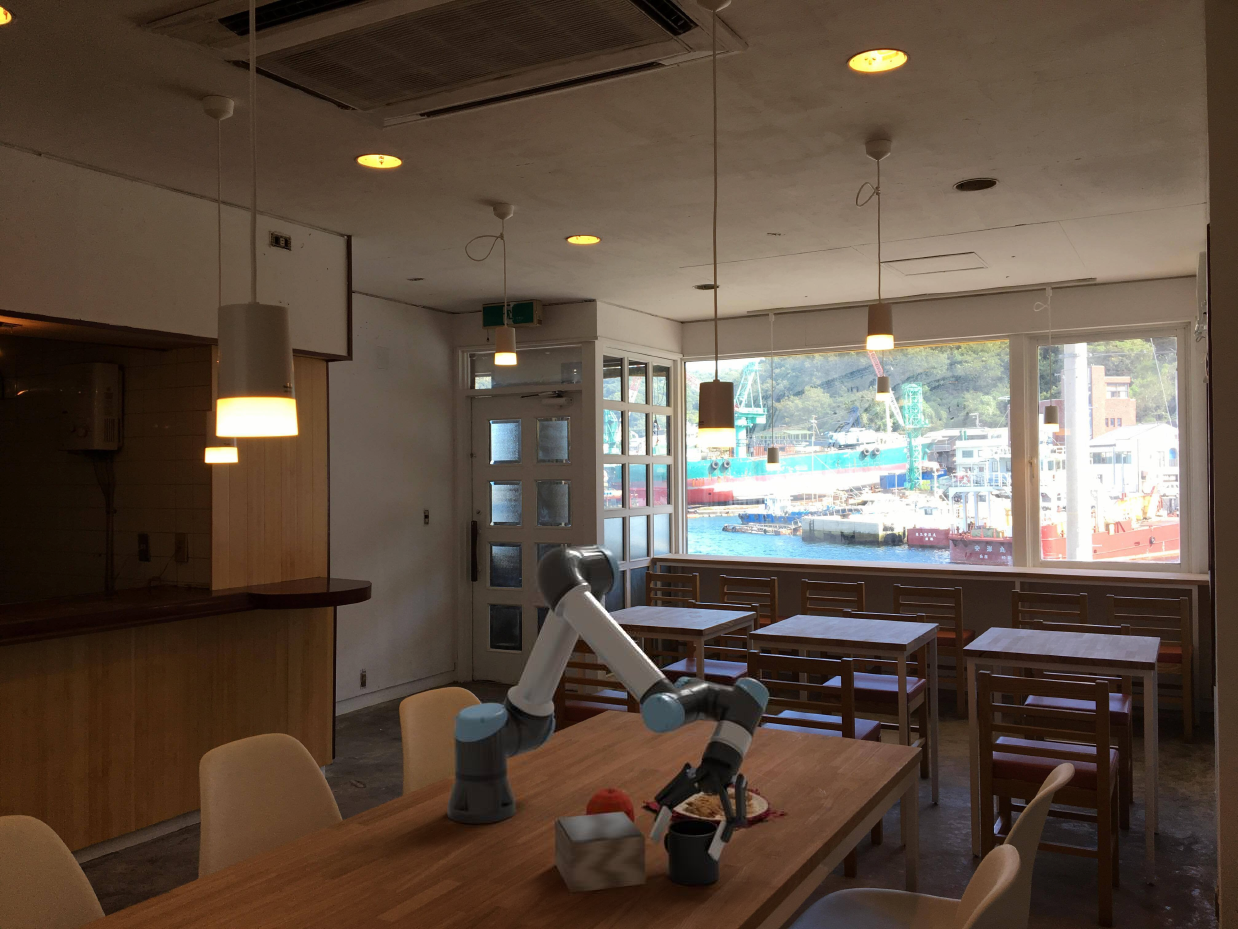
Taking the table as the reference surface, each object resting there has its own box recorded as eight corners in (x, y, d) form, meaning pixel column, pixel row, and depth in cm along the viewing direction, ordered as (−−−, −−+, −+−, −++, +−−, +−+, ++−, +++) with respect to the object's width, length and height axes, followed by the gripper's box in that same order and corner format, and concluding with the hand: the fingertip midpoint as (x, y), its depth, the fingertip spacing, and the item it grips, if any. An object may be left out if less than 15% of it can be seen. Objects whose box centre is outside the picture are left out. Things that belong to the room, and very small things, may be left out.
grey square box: (570, 892, 177) (570, 842, 178) (555, 864, 191) (554, 817, 191) (645, 883, 181) (644, 834, 181) (625, 857, 195) (624, 810, 195)
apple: (579, 839, 205) (578, 783, 205) (624, 832, 209) (623, 777, 209) (595, 855, 196) (594, 796, 196) (642, 848, 199) (641, 790, 199)
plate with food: (641, 809, 226) (641, 793, 226) (736, 788, 239) (736, 773, 239) (701, 843, 205) (700, 826, 205) (801, 818, 217) (801, 802, 217)
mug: (680, 859, 193) (680, 812, 193) (729, 875, 184) (728, 826, 185) (648, 873, 186) (647, 824, 186) (697, 890, 178) (696, 840, 178)
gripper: (788, 771, 190) (747, 874, 178) (683, 751, 206) (639, 844, 194) (773, 749, 186) (730, 853, 174) (667, 730, 202) (621, 824, 190)
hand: (682, 848), depth 184 cm, fingers open, 13 cm apart
